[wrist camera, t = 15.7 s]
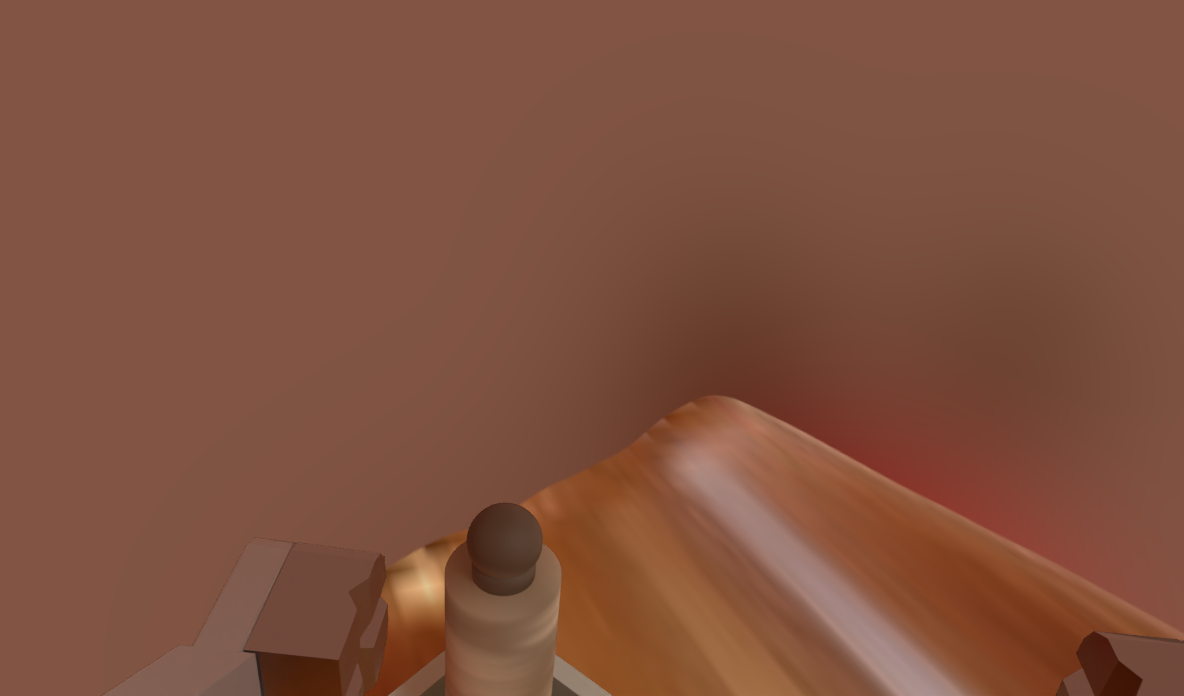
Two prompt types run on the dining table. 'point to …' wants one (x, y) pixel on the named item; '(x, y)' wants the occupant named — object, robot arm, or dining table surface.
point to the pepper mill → (501, 607)
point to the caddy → (428, 684)
